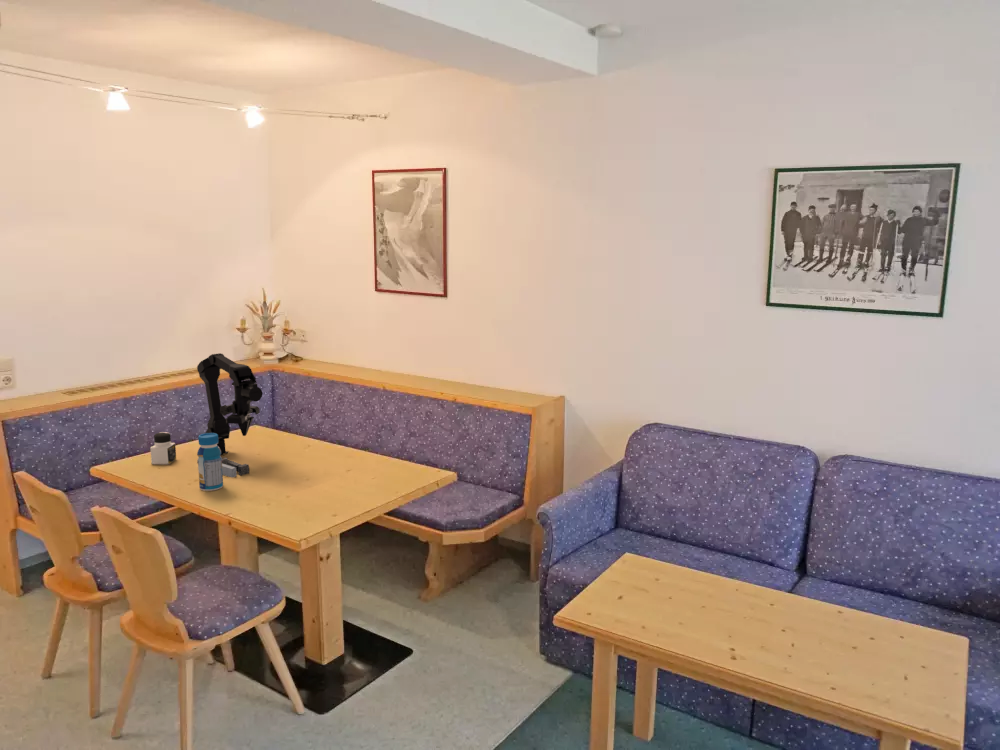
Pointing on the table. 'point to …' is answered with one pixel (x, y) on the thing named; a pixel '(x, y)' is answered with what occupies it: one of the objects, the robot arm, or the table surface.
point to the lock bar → (230, 463)
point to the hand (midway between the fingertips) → (244, 435)
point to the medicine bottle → (163, 449)
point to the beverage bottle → (209, 462)
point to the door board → (228, 471)
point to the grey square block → (243, 469)
